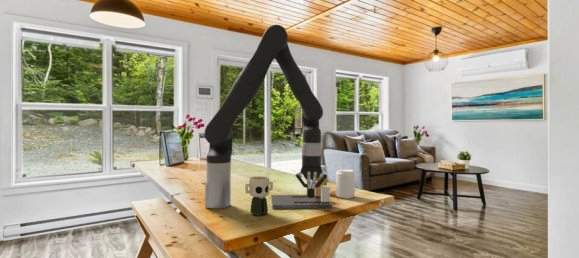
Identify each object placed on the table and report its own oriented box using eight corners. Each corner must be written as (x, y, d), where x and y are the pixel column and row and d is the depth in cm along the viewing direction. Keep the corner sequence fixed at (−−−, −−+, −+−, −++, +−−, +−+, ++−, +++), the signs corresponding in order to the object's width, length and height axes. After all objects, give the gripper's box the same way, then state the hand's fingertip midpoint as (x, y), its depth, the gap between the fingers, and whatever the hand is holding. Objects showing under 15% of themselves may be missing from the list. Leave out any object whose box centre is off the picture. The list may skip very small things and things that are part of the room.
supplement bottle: (326, 195, 138) (326, 167, 138) (311, 194, 140) (312, 166, 139) (327, 191, 145) (327, 165, 145) (313, 190, 146) (314, 164, 146)
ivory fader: (322, 202, 119) (322, 186, 119) (320, 200, 121) (321, 185, 121) (329, 202, 119) (329, 186, 119) (328, 200, 122) (328, 185, 121)
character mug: (249, 218, 103) (249, 180, 103) (241, 213, 109) (241, 177, 109) (277, 214, 109) (277, 178, 109) (267, 209, 115) (268, 175, 115)
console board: (272, 209, 115) (272, 204, 115) (271, 198, 131) (271, 194, 131) (332, 208, 117) (332, 204, 117) (323, 197, 133) (323, 194, 133)
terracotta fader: (315, 196, 128) (315, 182, 128) (314, 194, 130) (314, 181, 130) (322, 196, 128) (322, 182, 128) (321, 194, 131) (321, 181, 130)
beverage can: (357, 196, 137) (357, 170, 136) (350, 200, 130) (350, 172, 129) (340, 193, 141) (340, 168, 141) (333, 197, 134) (333, 170, 134)
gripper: (296, 155, 115) (295, 200, 115) (330, 155, 116) (329, 200, 117) (294, 152, 122) (293, 195, 123) (326, 153, 124) (325, 195, 124)
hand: (310, 197), depth 120 cm, fingers closed
